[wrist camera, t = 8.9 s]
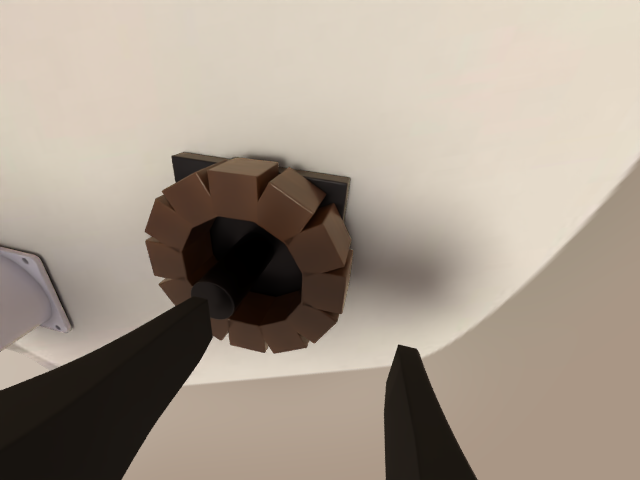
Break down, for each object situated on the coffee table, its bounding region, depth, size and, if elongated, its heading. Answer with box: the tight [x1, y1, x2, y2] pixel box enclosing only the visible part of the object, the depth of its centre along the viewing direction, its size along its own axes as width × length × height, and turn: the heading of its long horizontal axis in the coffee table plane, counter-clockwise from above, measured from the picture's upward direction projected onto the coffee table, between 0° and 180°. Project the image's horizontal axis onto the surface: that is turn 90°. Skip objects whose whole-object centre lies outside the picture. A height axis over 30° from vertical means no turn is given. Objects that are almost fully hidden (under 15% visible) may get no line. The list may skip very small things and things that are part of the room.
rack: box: [172, 152, 350, 320], centre depth 14 cm, size 9×9×6 cm
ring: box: [145, 157, 353, 354], centre depth 15 cm, size 10×10×2 cm
